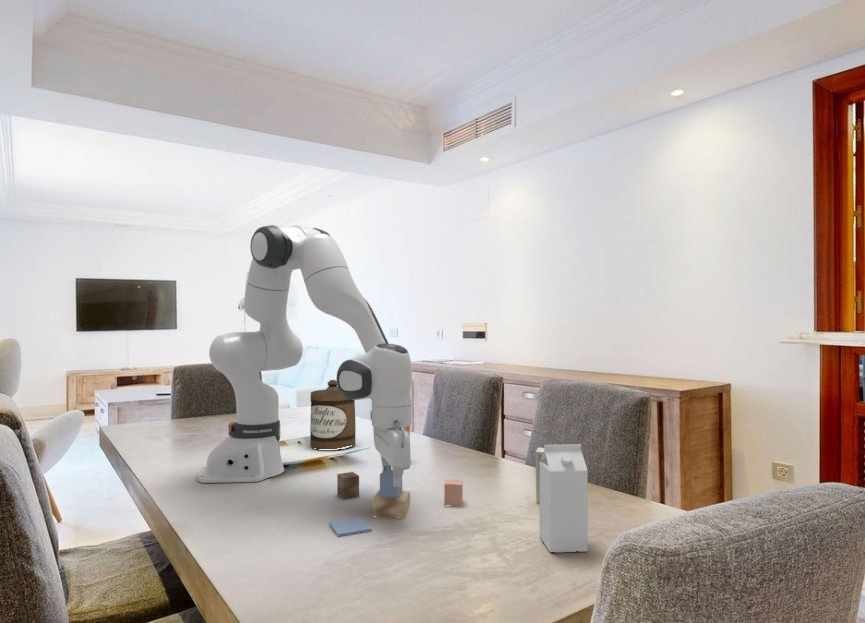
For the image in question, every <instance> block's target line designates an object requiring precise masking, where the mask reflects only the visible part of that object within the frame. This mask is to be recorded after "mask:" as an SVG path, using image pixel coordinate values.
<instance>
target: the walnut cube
mask: <svg viewBox="0 0 865 623" xmlns="http://www.w3.org/2000/svg"><path fill="white" fill-rule="evenodd" d="M336 488H337V490H336V492H337V496H339V497H340V498H341V499H343V500H346V499H353V498H357V497H360V475H359V474H357V473H355V472H354V471H349V472H343V473H337V486H336Z"/></svg>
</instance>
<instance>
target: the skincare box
mask: <svg viewBox="0 0 865 623" xmlns="http://www.w3.org/2000/svg"><path fill="white" fill-rule="evenodd" d="M543 453H544V447H537V448H536V450H535V454H534V455H535V458H534V459H535V490H536V492H535V495H536V496H535V497H536V500H535V501H536V504H540V462H539V461H540V459H541V457H542V455H543Z"/></svg>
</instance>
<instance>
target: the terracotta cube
mask: <svg viewBox="0 0 865 623" xmlns="http://www.w3.org/2000/svg"><path fill="white" fill-rule="evenodd" d="M463 487H464V480H463V479H455V478H445V481H444V500H443V501H444V502H443V503H444V505H451V506H450V507H460V506H462V507H463V503H462V502H463V499H464V497H463V496H464V494H463V492H464V488H463Z"/></svg>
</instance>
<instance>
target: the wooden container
mask: <svg viewBox="0 0 865 623" xmlns="http://www.w3.org/2000/svg"><path fill="white" fill-rule="evenodd" d="M355 401H356V400H352V399H347V398H346V397H344V396H343V395H342V394H341V392H340V391H339V389H338V386H337V379H330V380H329V381H327V388H326V389H318V390H313V391H311V392H310V422H309V423H310V429H309V430H310V433H309V434H310V447H312V448H311V449H313V448H316V449H337V448H342V447H346V446H351V445H352V446H353V445H355V446H356V432H357V429H356V427H357V426H356V402H355Z"/></svg>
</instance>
